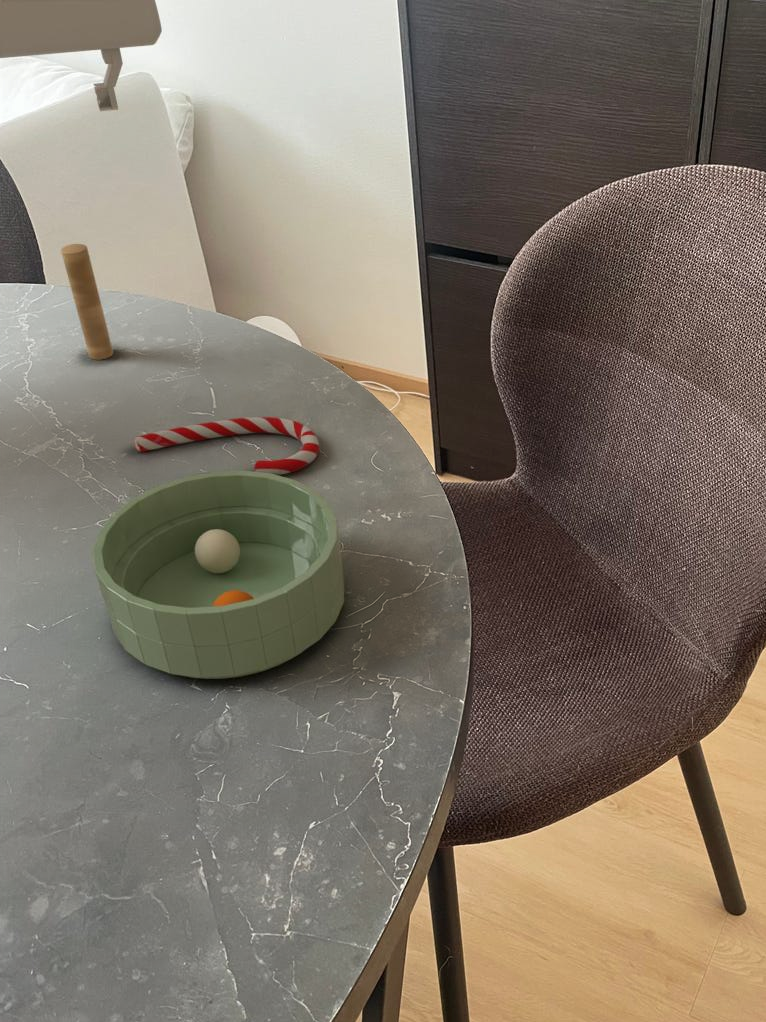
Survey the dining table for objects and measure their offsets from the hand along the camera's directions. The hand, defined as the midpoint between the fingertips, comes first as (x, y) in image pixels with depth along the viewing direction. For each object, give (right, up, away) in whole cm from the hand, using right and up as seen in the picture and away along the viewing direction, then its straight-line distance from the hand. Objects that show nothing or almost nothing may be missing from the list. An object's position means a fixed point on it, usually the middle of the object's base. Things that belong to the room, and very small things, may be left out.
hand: (49, 115), depth 85 cm
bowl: (+19, -41, -15) cm, 47 cm away
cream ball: (+17, -37, -14) cm, 43 cm away
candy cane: (+15, -28, -1) cm, 32 cm away
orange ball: (+20, -41, -19) cm, 50 cm away
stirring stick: (0, -16, +12) cm, 20 cm away
